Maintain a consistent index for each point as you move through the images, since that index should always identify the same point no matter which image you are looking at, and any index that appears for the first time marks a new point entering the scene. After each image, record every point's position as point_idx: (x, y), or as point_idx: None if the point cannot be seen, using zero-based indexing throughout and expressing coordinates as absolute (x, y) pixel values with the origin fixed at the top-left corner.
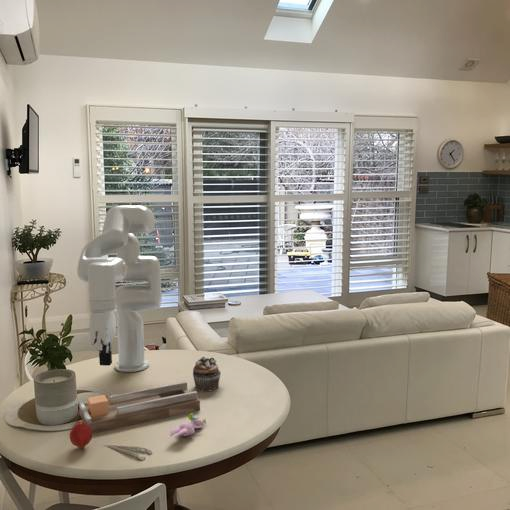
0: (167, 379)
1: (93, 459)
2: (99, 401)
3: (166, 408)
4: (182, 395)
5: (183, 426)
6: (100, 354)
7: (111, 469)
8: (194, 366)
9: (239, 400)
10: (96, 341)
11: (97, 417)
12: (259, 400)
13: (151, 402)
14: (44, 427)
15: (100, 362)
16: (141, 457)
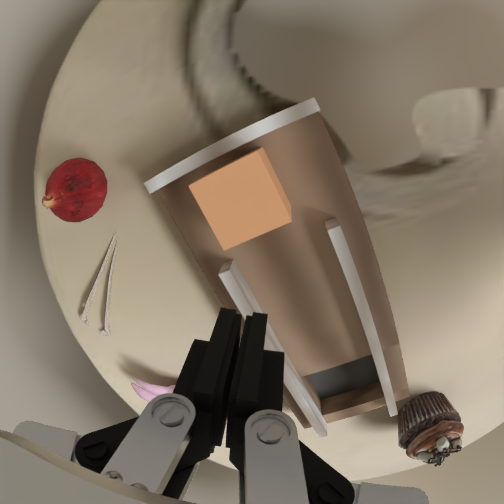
0: (496, 330)
1: (63, 225)
2: (215, 216)
3: None
4: (306, 417)
5: None
6: (197, 383)
7: (47, 268)
8: (449, 428)
9: (333, 451)
10: (175, 499)
11: None
12: None
13: None
14: (213, 21)
15: (216, 325)
16: (84, 319)
